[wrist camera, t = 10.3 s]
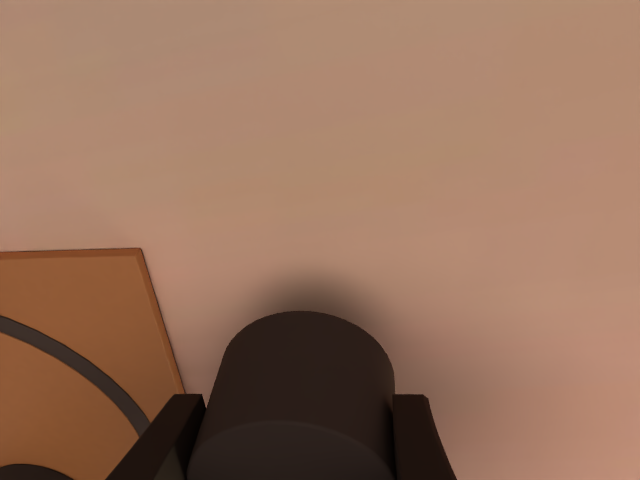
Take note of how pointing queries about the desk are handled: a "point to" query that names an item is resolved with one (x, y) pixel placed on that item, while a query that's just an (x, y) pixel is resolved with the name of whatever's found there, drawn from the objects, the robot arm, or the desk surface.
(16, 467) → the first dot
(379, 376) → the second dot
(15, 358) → the drawing board
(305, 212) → the desk surface
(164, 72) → the desk surface
